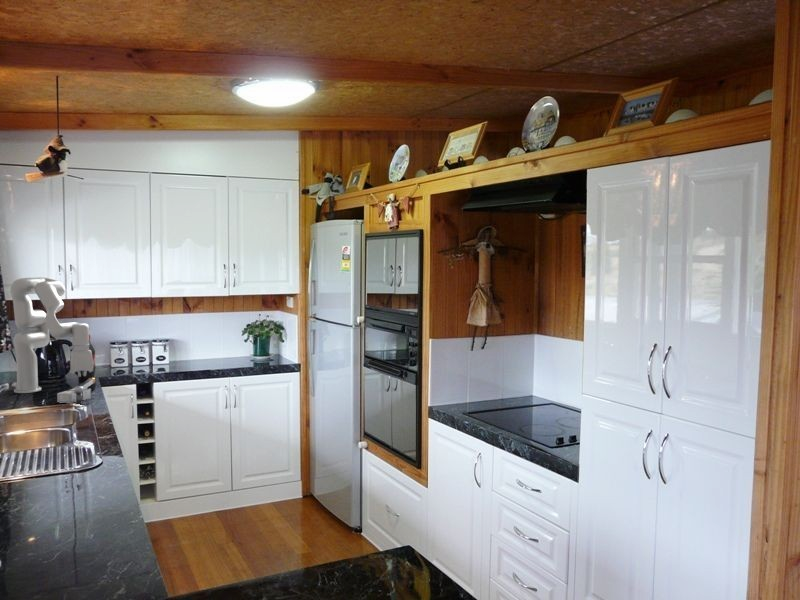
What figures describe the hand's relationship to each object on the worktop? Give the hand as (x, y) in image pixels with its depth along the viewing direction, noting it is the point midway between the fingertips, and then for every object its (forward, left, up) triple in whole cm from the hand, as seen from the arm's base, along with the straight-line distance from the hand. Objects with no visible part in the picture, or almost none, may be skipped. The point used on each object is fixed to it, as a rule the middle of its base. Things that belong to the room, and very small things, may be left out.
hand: (82, 383), depth 327 cm
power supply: (0, -10, -7) cm, 12 cm away
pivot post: (+8, -13, -7) cm, 17 cm away
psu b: (0, -2, -7) cm, 8 cm away
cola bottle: (-10, +17, -8) cm, 21 cm away
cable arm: (+4, -3, -1) cm, 5 cm away
